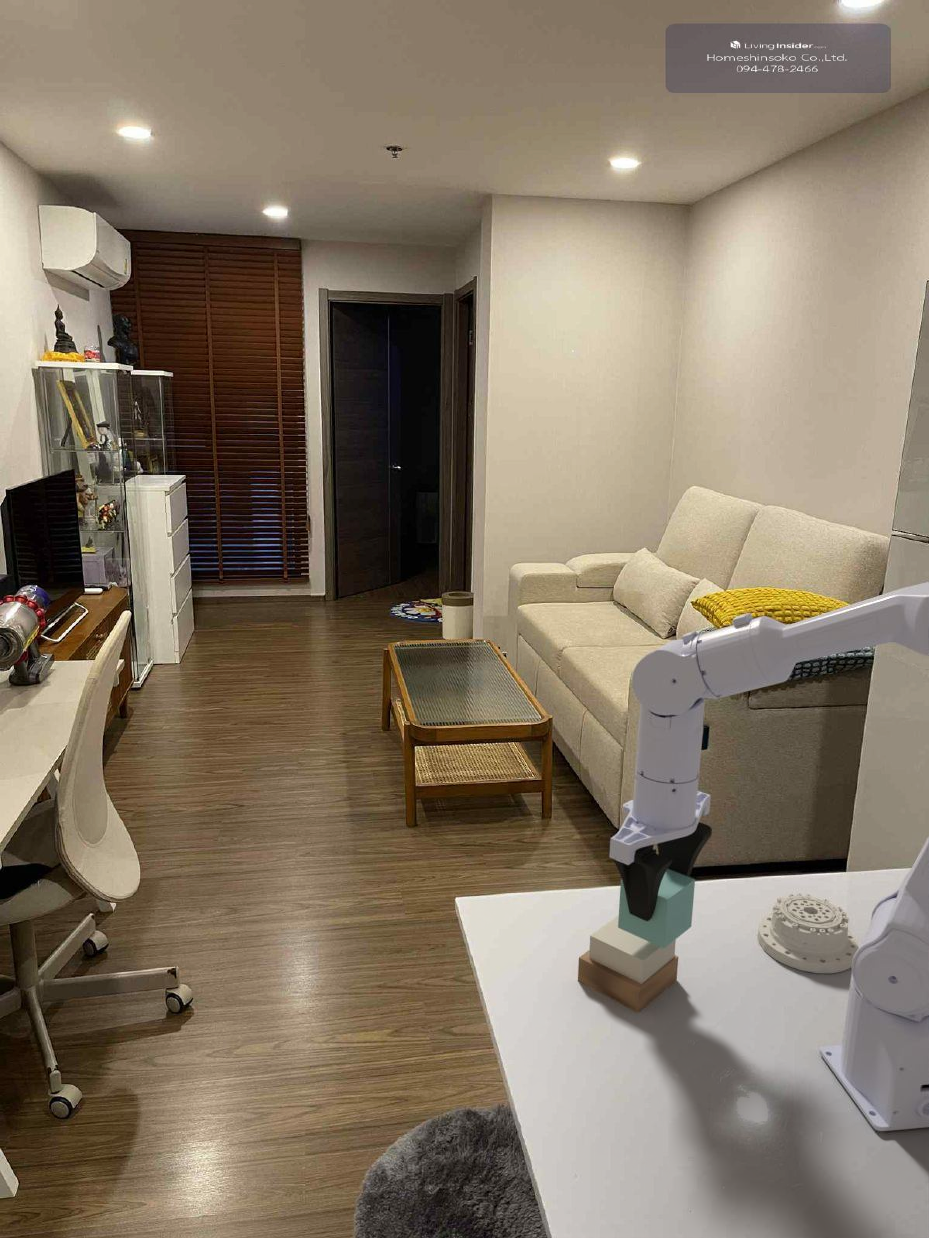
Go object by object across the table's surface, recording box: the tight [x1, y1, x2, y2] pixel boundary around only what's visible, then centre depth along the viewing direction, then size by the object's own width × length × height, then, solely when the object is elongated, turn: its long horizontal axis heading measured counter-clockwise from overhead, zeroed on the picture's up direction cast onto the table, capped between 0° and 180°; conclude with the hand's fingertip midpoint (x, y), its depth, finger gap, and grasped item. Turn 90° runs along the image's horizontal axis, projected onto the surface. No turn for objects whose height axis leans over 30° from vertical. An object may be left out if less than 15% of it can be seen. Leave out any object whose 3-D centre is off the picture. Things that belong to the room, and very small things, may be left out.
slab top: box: [588, 915, 677, 984], centre depth 92 cm, size 6×6×2 cm
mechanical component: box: [757, 892, 860, 974], centre depth 99 cm, size 10×4×10 cm
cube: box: [618, 869, 696, 948], centre depth 89 cm, size 5×5×5 cm
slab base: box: [577, 949, 679, 1013], centre depth 93 cm, size 7×7×3 cm
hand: (656, 904), depth 89 cm, fingers closed on cube, 5 cm apart
